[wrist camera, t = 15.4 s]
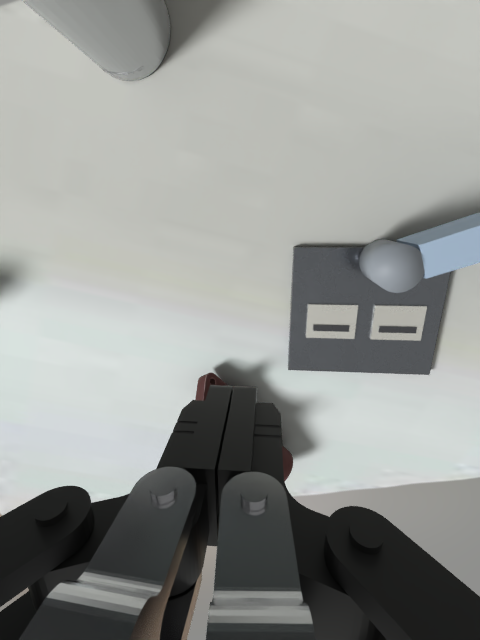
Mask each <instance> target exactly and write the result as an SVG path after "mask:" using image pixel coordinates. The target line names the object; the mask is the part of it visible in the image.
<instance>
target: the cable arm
mask: <svg viewBox="0 0 480 640" xmlns="http://www.w3.org/2000/svg"><path fill="white" fill-rule="evenodd" d="M476 263H480V212H479V213H476V214H473V215H470V216H467V217H464V218H461V219H458V220H454V221H451V222H448V223H445V224H442V225H439V226H436V227H433V228H430V229H427V230H424V231H421V232H418V233H415V234H412V235H409V236H406V237H403V238H400V239H397V242H394V241H390V240H377V241H374V242H372V243H370V244H369V245H368V246H366V247H365V249H364V250H363V251H362V253H361V256H360V259H359V266H360V269H361V271H362V273H363V274H364V275H365V276H366V277H367V278H368V279H370V280H371V281H373V282H374V283H376V284H377V285H379V286H380V287H382V288H383V289H385V290H386V291H389V292H393V293H401V292H405V291H408V290H410V289H412V288H413V287H415V286H416V285H417V284H418V283H419V282H420V280H421V279H422V277H423V278H426V279H427V278H430V277H434V276H437V275H440V274H443V273H447V272H450V271H453V270H457V269H460V268H463V267H466V266H470V265H473V264H476Z"/></svg>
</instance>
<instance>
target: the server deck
mask: <svg viewBox="0 0 480 640" xmlns="http://www.w3.org/2000/svg"><path fill="white" fill-rule="evenodd" d="M368 245H369V244H368ZM368 245H366V246H368ZM366 246H365V247H366ZM365 247H294V248H293V269H292V291H291V313H290V334H289V356H288V370H307V371H336V372H366V373H395V374H424V375H429V374H430V369H431V364H432V359H433V355H434V350H435V345H436V340H437V335H438V330H439V325H440V320H441V316H442V311H443V306H444V301H445V296H446V291H447V286H448V282H449V277H450V272H451V271H450V272H447V273H443V274H440V275H437V276H434V277H430V278H427V279H426V278H423V277H422V279H421V280H420V282H419V283H418V284H417V285H416V286H415V287H413V288H412V289H410V290H408V291H405V292H401V293H393V292H389V291H386V290H385V289H383V288H382V287H380V286H379V285H377V284H376V283H374V282H373V281H371V280H370V279H368V278H367V277H366V276H365V275H364V274H363V273H362V271H361V269H360V266H359V259H360V256H361V253H362V251H363V250H364V249H365Z"/></svg>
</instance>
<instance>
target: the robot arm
mask: <svg viewBox="0 0 480 640" xmlns="http://www.w3.org/2000/svg"><path fill="white" fill-rule="evenodd" d="M22 1H23V2H24V3H25V4H26V5H28V6H29V7H30V8H31V9H32V10H33V11H35V12H36V13H37V14H38V15H39V16H41V17H42V18H43V19H44V20H45V21H46V22H48V23H49V24H50V25H51V26H52V27H53V28H55V29H56V30H57V31H58V32H59V33H61V34H62V35H63V36H64V37H65V38H66V39H68V40H69V41H70V42H71V43H72V44H74V45H75V46H76V47H77V48H78V49H79V50H81V51H82V52H83V53H84V54H85V55H86V56H88V57H89V58H90V59H91V60H92V61H93V62H95V63H96V64H97V65H98V66H99V67H101V68H102V69H103V70H104V71H105V72H107V73H108V74H110V75H111V76H113V77H115V78H118V79H121V80H126V81H135V80H140V79H142V78H145V77H147V76H149V75H150V74H151V73H152V72H154V71H155V70H156V69H157V68H158V66H159V65H160V64H161V62H162V61H163V59H164V57H165V55H166V52H167V49H168V45H169V40H170V18H169V14H168V10H167V6H166V4H165V2H164V0H22ZM207 545H208V546H217V555H216V568H215V580H214V592H213V600H212V602H210V607H209V613H208V622H207V633H206V640H480V597H479V596H478V595H477V594H476V593H475V592H473V591H472V590H471V589H470V588H469V587H467V586H466V585H465V584H464V583H463V582H461V581H460V580H459V579H458V578H456V577H455V576H454V575H453V574H452V573H451V572H449V571H448V570H447V569H446V568H445V567H443V566H442V565H441V564H440V563H439V562H437V561H436V560H435V559H434V558H433V557H431V556H430V555H429V554H428V553H427V552H425V551H424V550H423V549H422V548H421V547H419V546H418V545H417V544H416V543H415V542H413V541H412V540H411V539H410V538H409V537H407V536H406V535H405V534H404V533H403V532H402V531H400V530H399V529H398V528H397V527H396V526H394V525H393V524H392V523H391V522H390V521H388V520H387V519H386V518H384V517H383V516H382V515H380V514H378V513H376V512H374V511H372V510H370V509H367V508H363V507H358V506H349V507H344V508H341V509H338V510H337V511H335V512H334V513H333V514H332V515H331V516H330V517H328V516H326V515H323V514H320V513H317V512H315V511H312V510H310V509H308V508H306V507H304V506H302V505H301V504H300V503H298V502H297V501H296V500H295V499H294V498H293V497H292V496H291V495H290V493H289V492H288V490H287V488H286V486H285V482H284V471H283V453H282V434H281V416H280V412H279V411H278V410H277V408H276V407H275V405H274V404H273V403H257V387H248V386H234V389H233V386H220V385H210V387H209V390H208V393H207V396H206V399H205V401H203V400H193V401H191V402H190V403H189V404H188V405H187V406H186V407H184V408H183V409H182V411H181V414H180V416H179V418H178V420H177V423H176V425H175V427H174V430H173V433H172V434H171V436H170V439H169V441H168V443H167V446H166V448H165V450H164V452H163V455H162V457H161V459H160V462H159V464H158V466H157V468H156V469H155V470H153V471H151V472H149V473H147V474H146V475H144V476H143V477H142V478H141V479H140V480H139V481H138V482H137V483H136V484H135V486H134V487H133V489H132V491H131V492H130V494H127V495H125V496H121V497H117V498H113V499H108V500H103V501H99V502H94V503H91V500H90V496H89V494H88V492H87V491H86V490H84V489H83V488H80V487H77V486H63V487H58V488H55V489H52V490H49V491H47V492H45V493H43V494H41V495H39V496H37V497H35V498H34V499H32V500H30V501H28V502H26V503H25V504H23V505H21V506H19V507H17V508H16V509H14V510H12V511H10V512H8V513H7V514H5V515H3V516H1V517H0V607H1V606H2V605H4V604H5V603H6V602H8V601H9V600H11V599H12V598H13V597H15V596H16V595H18V594H19V593H20V592H22V591H23V590H25V589H26V588H27V587H28V589H29V591H28V592H27V593H26V594H24V595H23V596H21V597H20V598H19V599H17V600H16V601H14V602H13V603H12V604H10V605H9V606H8V607H6V608H5V609H3V610H2V611H1V612H0V640H187V637H188V633H189V629H190V625H191V621H192V617H193V614H194V609H195V605H196V601H197V597H198V594H199V590H200V586H201V581H202V568H203V564H204V558H205V553H206V548H207Z"/></svg>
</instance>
